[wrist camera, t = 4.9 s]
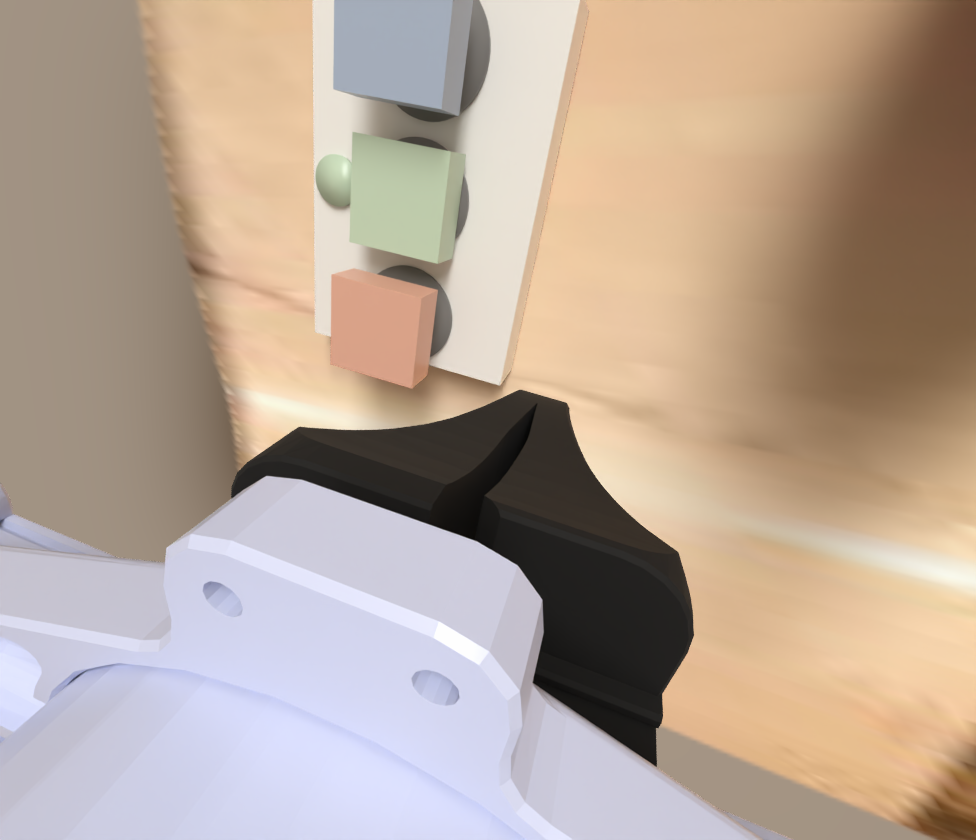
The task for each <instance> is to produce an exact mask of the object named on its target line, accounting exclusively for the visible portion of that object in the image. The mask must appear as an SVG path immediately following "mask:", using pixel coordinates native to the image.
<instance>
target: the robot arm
mask: <svg viewBox="0 0 976 840" xmlns="http://www.w3.org/2000/svg"><path fill="white" fill-rule="evenodd" d="M231 495H232V496H231V497H232V498H231V500H229V501H228V502H227V503H225V504H224V505H223V506H221V507H220V508H219V509H218V510H216V511H215V512H214V513H212V514H211V515H210V516H208V517H207V518H206V519H204V520H203V521H202V522H200V523H199V524H198V525H196V526H195V527H194V528H192V529H191V530H190V531H188V532H187V533H186V534H184V535H183V536H182V537H180V538H179V539H178V540H177V541H175V542H174V543H173V544H171V545H170V546H169V547H167V548H166V559H165V562H156V561H146V560H137V559H136V560H135V559H126V558H118V557H116V556H113V555H111V554H108V553H106V552H104V551H101V550H99V549H96V548H94V547H92V546H89V545H87V544H85V543H82V542H80V541H77V540H75V539H73V538H70V537H68V536H65V535H63V534H60V533H58V532H56V531H53V530H51V529H48V528H46V527H44V526H41V525H39V524H37V523H34V522H31V521H29V520H27V519H25V518H22V517H20V516H17V515H15V514H13V513H12V512H13V507H12V504H11V501H10V498H9V496H8V493H7V491H6V490H5V488H4V487H3V485H2V484H1V483H0V840H793V839H791V838H788V837H786V836H784V835H781V834H779V833H776V832H774V831H771V830H769V829H767V828H764V827H762V826H759V825H757V824H755V823H752V822H750V821H748V820H745V819H743V818H740V817H738V816H736V815H733V814H731V813H729V812H726V811H724V810H721V809H719V808H716V807H714V806H713V805H712V804H710V803H709V802H707V801H706V800H704V799H703V798H701V797H700V796H698V795H697V794H696V793H694V792H693V791H691V790H690V789H688V788H687V787H685V786H684V785H682V784H681V783H679V782H678V781H676V780H675V779H673V778H672V777H671V776H669V775H668V774H666V773H665V772H663V771H662V770H660V769H659V768H657V758H656V728H659V726H660V724H661V722H662V718H663V706H662V693H663V692H664V690H665V688H666V687H667V685H668V684H669V682H670V680H671V679H672V677H673V675H674V674H675V672H676V671H677V669H678V667H679V666H680V664H681V662H682V661H683V659H684V658H685V656H686V654H687V653H688V650H689V647H690V645H691V642H692V639H693V636H694V631H693V610H692V604H691V597H690V593H689V589H688V585H687V581H686V577H685V573H684V570H683V567H682V563H681V560H680V556H679V553H678V552H677V551H676V550H674V549H673V548H672V547H670V546H669V545H667V544H666V543H665V542H663V541H662V540H661V539H659V538H658V537H656V536H655V535H654V534H652V533H651V532H649V531H648V530H647V529H645V528H644V527H643V526H642V525H640V524H639V523H638V522H637V521H636V520H635V519H634V518H633V517H631V516H630V515H629V514H628V513H627V512H626V511H625V510H624V509H623V508H622V507H621V506H620V505H619V504H618V503H617V502H616V501H615V500H614V499H613V498H612V497H611V495H610V494H609V493H608V492H607V491H606V490H605V489H604V487H603V486H602V485H601V484H600V482H599V481H598V480H597V478H596V477H595V475H594V474H593V472H592V471H591V469H590V468H589V466H588V464H587V462H586V460H585V458H584V456H583V454H582V452H581V450H580V447H579V445H578V443H577V440H576V437H575V434H574V431H573V428H572V424H571V420H570V415H569V407H568V405H567V403H565V402H561V401H558V400H555V399H551V398H548V397H544V396H541V395H537V394H534V393H530V392H527V391H523V390H518V391H516V392H513V393H511V394H509V395H507V396H505V397H503V398H501V399H499V400H497V401H495V402H492V403H490V404H488V405H486V406H484V407H481V408H478V409H476V410H473V411H470V412H468V413H465V414H462V415H459V416H457V417H453V418H450V419H446V420H442V421H438V422H434V423H429V424H424V425H418V426H410V427H403V428H395V429H382V430H335V429H319V428H306V427H298V428H297V429H295V430H294V431H292V432H291V433H289V434H288V435H286V436H285V437H283V438H282V439H280V440H279V441H278V442H276V443H275V444H273V445H272V446H270V447H269V448H267V449H266V450H265V451H263V452H262V453H260V454H259V455H257V456H256V457H254V458H253V459H252V460H250V461H249V462H247V463H246V464H245V465H244V466H243V467H242V469H241V470H240V471H239V472H238V473H237V475H236V477H235V480H234V482H233V485H232V494H231Z"/></svg>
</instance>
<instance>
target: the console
mask: <svg viewBox="0 0 976 840" xmlns="http://www.w3.org/2000/svg"><path fill="white" fill-rule="evenodd" d="M588 14H589V9H588V6H587V3H586V0H473V7H472V15H471V23H470V31H469V39H468V48H467V56H466V64H465V72H464V80H463V89H462V97H461V105H460V113H459V116H455V115H450V114H444V113H439V112H434V111H429V110H423V109H418V108H413V107H407V106H402V105H397V104H391V103H386V102H381V101H375V100H370V99H365V98H360V97H356V96H353V95H350V94H347V93H344V92H341V91H337V90H334V89H333V65H334V0H313V112H314V251H315V332H316V333H320V334H323V335H327V336H330V337H331V274H335V273H338V272H342V271H345V270H349V269H353V268H355V269H359V270H363V271H367V272H370V273H374V274H378V275H382V276H386V277H390V278H394V279H398V280H401V281H405V282H409V283H413V284H417V285H421V286H425V287H428V288H432V289H436V290H438V294H437V302H436V310H435V318H434V327H433V335H432V343H431V351H430V359H429V365H430V366H434V367H437V368H441V369H444V370H448V371H451V372H454V373H458V374H461V375H465V376H468V377H472V378H475V379H479V380H482V381H486V382H489V383H492V384H496V385H499V386H500V385H501V384H502V382H503V381H504V379H505V378H506V377H507V375H508V374H509V373H510V371H511V369H512V365H513V360H514V355H515V351H516V346H517V341H518V337H519V332H520V328H521V323H522V318H523V314H524V309H525V305H526V300H527V295H528V291H529V286H530V282H531V277H532V272H533V268H534V263H535V258H536V254H537V249H538V245H539V240H540V235H541V231H542V226H543V222H544V217H545V212H546V208H547V203H548V199H549V194H550V189H551V185H552V180H553V175H554V171H555V166H556V162H557V157H558V152H559V148H560V143H561V139H562V134H563V129H564V125H565V120H566V116H567V111H568V106H569V102H570V97H571V92H572V88H573V83H574V79H575V74H576V69H577V65H578V60H579V56H580V51H581V46H582V42H583V37H584V33H585V28H586V23H587V19H588ZM352 132H357V133H362V134H367V135H372V136H377V137H382V138H387V139H392V140H397V141H402V142H407V143H412V144H417V145H422V146H427V147H431V148H436V149H441V150H446V151H451V152H456V153H461V154H466V159H465V167H464V174H463V182H462V189H461V197H460V204H459V212H458V219H457V227H456V235H455V242H454V250H453V257H452V259H449V260H447V261H444V262H441V263H439V264H436V263H432V262H428V261H424V260H420V259H416V258H412V257H408V256H404V255H400V254H396V253H392V252H388V251H384V250H380V249H376V248H372V247H368V246H363V245H359V244H355V243H351V242H349V238H350V202H351V166H352Z"/></svg>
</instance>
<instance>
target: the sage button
mask: <svg viewBox="0 0 976 840" xmlns="http://www.w3.org/2000/svg"><path fill="white" fill-rule="evenodd" d="M465 159H466V154H461V153H456V152H451V151H446V150H441V149H436V148H431V147H427V146H422V145H417V144H412V143H407V142H402V141H397V140H392V139H387V138H382V137H377V136H372V135H367V134H362V133H357V132H352V166H351V202H350V238H349V242H351V243H355V244H359V245H363V246H368V247H372V248H376V249H380V250H384V251H388V252H392V253H396V254H400V255H404V256H408V257H412V258H416V259H420V260H424V261H428V262H432V263H436V264H439V263H441V262H444V261H447V260H449V259H452V257H453V250H454V242H455V235H456V227H457V219H458V212H459V204H460V197H461V189H462V182H463V174H464V167H465Z"/></svg>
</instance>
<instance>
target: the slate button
mask: <svg viewBox="0 0 976 840" xmlns="http://www.w3.org/2000/svg"><path fill="white" fill-rule="evenodd" d="M472 7H473V0H334V65H333V89H334V90H337V91H341V92H344V93H347V94H350V95H353V96H356V97H360V98H365V99H370V100H375V101H381V102H386V103H391V104H397V105H402V106H407V107H413V108H418V109H423V110H429V111H434V112H439V113H444V114H450V115H455V116H459V113H460V105H461V97H462V89H463V80H464V72H465V64H466V56H467V48H468V39H469V31H470V23H471V15H472Z"/></svg>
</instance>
